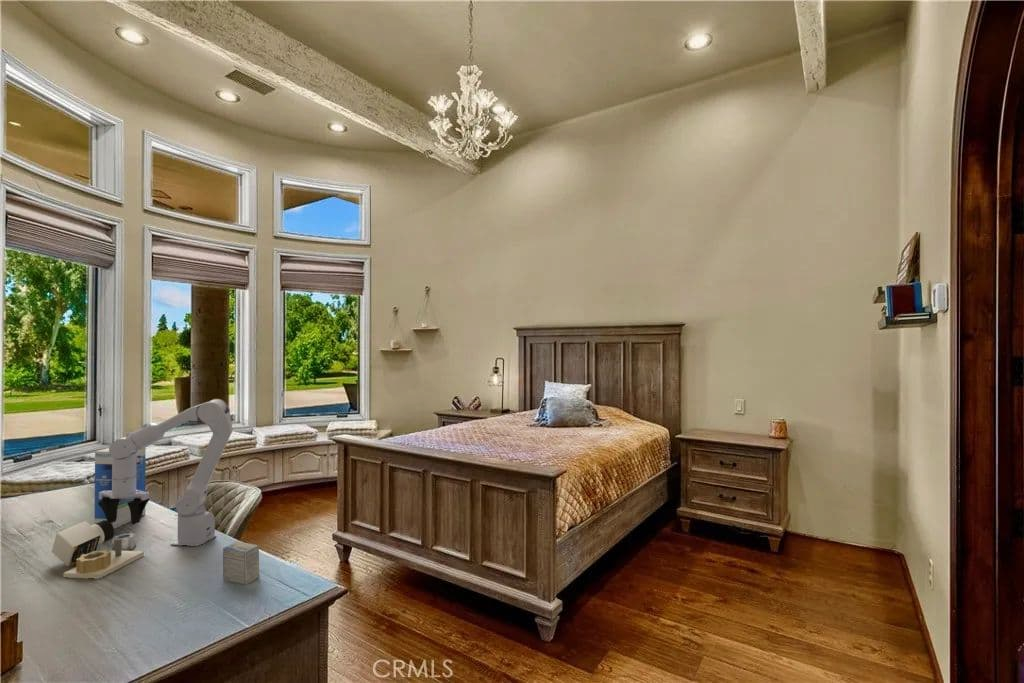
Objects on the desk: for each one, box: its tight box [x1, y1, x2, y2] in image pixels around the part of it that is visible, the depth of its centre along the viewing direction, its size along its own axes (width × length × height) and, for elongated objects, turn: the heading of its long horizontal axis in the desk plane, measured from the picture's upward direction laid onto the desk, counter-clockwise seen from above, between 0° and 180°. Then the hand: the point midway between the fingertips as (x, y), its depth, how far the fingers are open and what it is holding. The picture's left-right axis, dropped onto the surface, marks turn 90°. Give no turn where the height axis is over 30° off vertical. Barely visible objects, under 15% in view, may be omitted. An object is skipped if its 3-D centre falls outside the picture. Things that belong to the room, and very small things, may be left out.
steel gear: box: [111, 532, 137, 551], centre depth 145 cm, size 6×6×4 cm
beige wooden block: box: [222, 541, 260, 586], centre depth 126 cm, size 8×4×9 cm, turn 71°
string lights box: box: [93, 447, 147, 529], centre depth 167 cm, size 13×8×26 cm, turn 178°
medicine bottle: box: [51, 520, 115, 567], centre depth 138 cm, size 7×7×12 cm
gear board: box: [63, 539, 145, 580], centre depth 134 cm, size 10×14×6 cm
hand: (123, 522), depth 145 cm, fingers open, 7 cm apart
